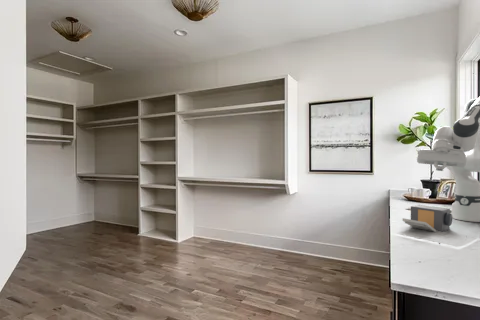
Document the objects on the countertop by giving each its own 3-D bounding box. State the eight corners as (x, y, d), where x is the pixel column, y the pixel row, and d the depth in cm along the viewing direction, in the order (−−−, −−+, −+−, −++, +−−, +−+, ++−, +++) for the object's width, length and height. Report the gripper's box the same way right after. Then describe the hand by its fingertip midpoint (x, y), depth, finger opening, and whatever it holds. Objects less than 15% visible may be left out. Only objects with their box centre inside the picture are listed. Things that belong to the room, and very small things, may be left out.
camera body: (418, 225, 152) (418, 204, 152) (453, 231, 139) (453, 209, 139) (410, 227, 146) (410, 206, 146) (446, 234, 134) (446, 211, 134)
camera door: (414, 226, 145) (402, 218, 137) (437, 230, 137) (425, 222, 129) (413, 230, 144) (401, 221, 137) (436, 234, 136) (425, 226, 129)
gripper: (418, 144, 152) (415, 163, 145) (467, 147, 141) (466, 168, 133) (418, 153, 156) (414, 171, 149) (465, 156, 144) (464, 177, 137)
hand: (439, 169), depth 141 cm, fingers closed
